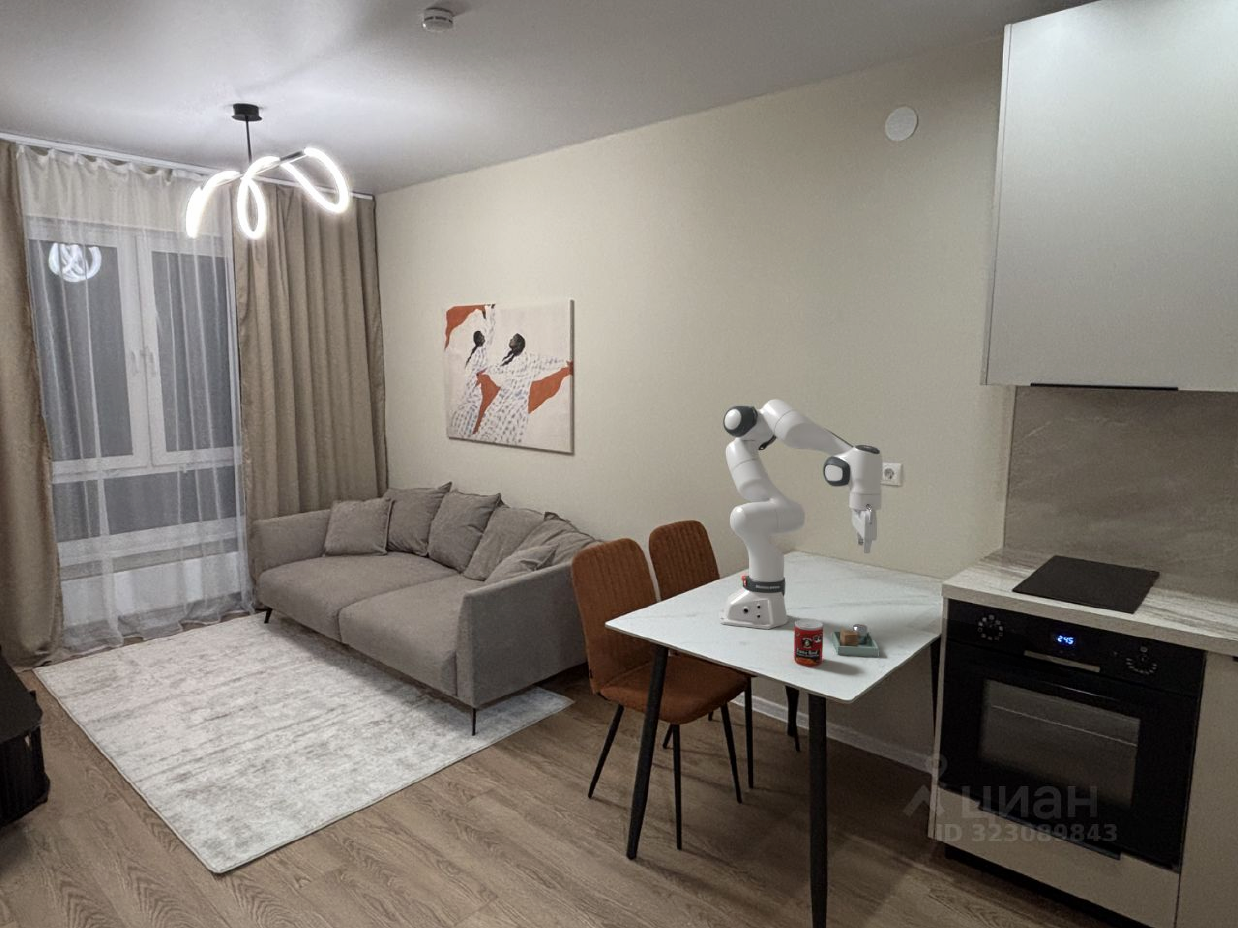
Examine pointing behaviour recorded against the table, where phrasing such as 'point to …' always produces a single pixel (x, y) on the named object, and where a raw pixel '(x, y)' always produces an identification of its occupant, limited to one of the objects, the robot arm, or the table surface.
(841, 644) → the walnut block
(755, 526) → the robot arm
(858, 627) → the metal peg
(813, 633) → the canned food
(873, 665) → the table surface
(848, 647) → the tray
